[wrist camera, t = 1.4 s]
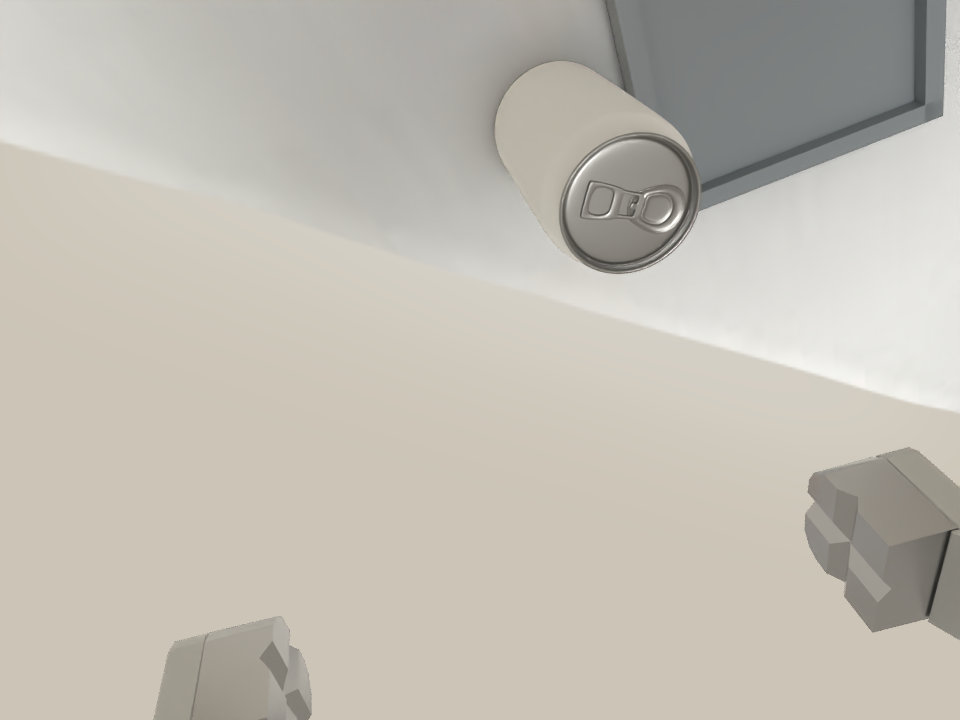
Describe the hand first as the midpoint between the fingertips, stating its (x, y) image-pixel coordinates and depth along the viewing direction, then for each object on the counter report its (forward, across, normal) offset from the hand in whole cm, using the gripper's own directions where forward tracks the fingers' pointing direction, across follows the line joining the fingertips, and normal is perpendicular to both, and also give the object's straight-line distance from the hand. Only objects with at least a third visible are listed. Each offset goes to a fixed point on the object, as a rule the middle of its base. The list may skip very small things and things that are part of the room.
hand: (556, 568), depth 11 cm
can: (+30, -8, +2) cm, 31 cm away
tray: (+29, -20, 0) cm, 35 cm away
